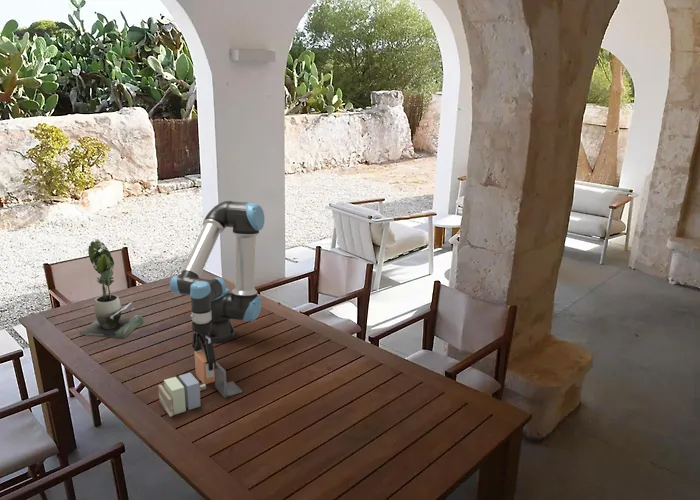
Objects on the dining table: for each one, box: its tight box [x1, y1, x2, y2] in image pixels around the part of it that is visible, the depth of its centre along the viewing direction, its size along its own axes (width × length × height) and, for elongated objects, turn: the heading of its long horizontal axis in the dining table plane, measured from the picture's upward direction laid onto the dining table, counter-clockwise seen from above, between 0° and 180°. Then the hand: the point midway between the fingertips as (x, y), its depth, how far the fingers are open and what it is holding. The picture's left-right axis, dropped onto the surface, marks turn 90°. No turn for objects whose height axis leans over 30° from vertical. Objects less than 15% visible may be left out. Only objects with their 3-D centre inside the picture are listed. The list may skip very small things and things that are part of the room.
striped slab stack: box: [157, 383, 207, 417], centre depth 216 cm, size 18×12×7 cm, turn 126°
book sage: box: [163, 376, 187, 416], centre depth 212 cm, size 4×9×10 cm, turn 36°
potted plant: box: [79, 238, 144, 339], centre depth 269 cm, size 22×19×45 cm
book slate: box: [178, 372, 202, 411], centre depth 215 cm, size 4×9×10 cm, turn 36°
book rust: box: [194, 350, 215, 385], centre depth 232 cm, size 4×9×10 cm, turn 36°
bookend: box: [214, 361, 244, 399], centre depth 224 cm, size 8×9×11 cm
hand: (204, 371), depth 232 cm, fingers open, 11 cm apart
